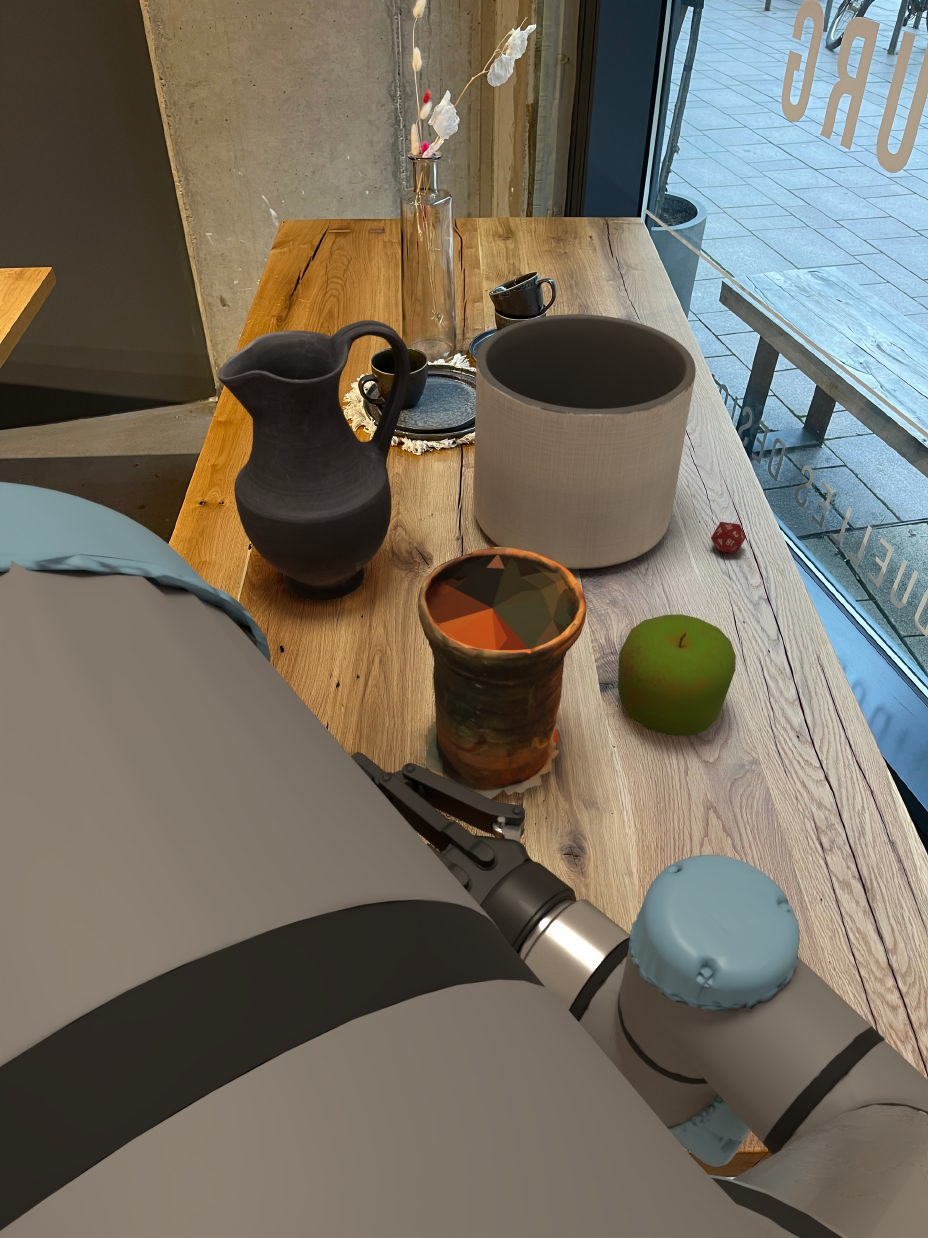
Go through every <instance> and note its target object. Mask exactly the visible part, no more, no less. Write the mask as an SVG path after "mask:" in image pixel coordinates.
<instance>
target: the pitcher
mask: <svg viewBox="0 0 928 1238" xmlns="http://www.w3.org/2000/svg"><path fill="white" fill-rule="evenodd" d="M366 336H374V337H376V338H381V339H384V340H385V341H386V342H387V343H388V345H389V346H390V348H391V351H392V354H393V360H394V371H393V372H394V373H393V379H392V383H391V386H390V390H389V392H388V396H387V398H386V401H385V404H384V407H383V408H382V412H381V414H380V416H379V420H378V422H377V425H376V428H375V430H374V432H373V435H372V437H371V438H370V440H368V441H364V440H363V441H361V440H360V439H359V438H358V437H357V435H356V434H355V431H354V430H353V429H352V427H351V426H350V423H349V421H348V418H347V417H346V415H345V413H344V410H343V408H342V406H341V403H340V395H339V394H340V382H341V377H342V374H343V372H344V370H345V368H346V366H347V363H348V360H349V354H350V351H351V349H352V346H353V344H354V343H355V342H356V340H359V339H361V338H364V337H366ZM410 358H411V357H410V354H409V351H408V347H407V344H406V342H405V341H404V340H403V338H402V337H401V336H400V334H399V333H398V332H397V331H396V329H394V328H393V327H392V326H390V325H389V324H386V323H384V322H382V321H378V320H374V319H372V320H371V319H365V320H358V321H355V322H352V323H350V324H347V325H345V326H342V327H341V328H340V329H338V330H337V331H336V332H335V333H334V334H333V335H328V334H325V333H322V332H316V331H309V330H282V331H275V332H270V333H265V334H262V335H260V336H257V337H256V338H255V339H253V340H251V341H250V342H249V343H248V344H247V345H246V346H244V347H243V348H241V349H240V350H238V351H236V353H234V354H233V355H231V356H230V357H229V358H228V359H227V360H226V361H225V362H224V363H223V364H222V366H221V367H220V368H219V371H218V381H219V382H220V383H221V384H222V385H223V386H224V387H225V388H226V389H227V390H228V391H229V392H230V393H231V395H233V397H234V398H235V399H236V400H237V401H238V402H239V403H240V404H241V406H242V407H243V408H244V410H246V412H247V413H248V414H249V416H250V417H251V419H252V442H251V450H250V454H249V458H248V460H247V462H246V463H245V464H244V465H243V466H242V467H241V469H240V470H239V472H238V473H237V475H236V477H235V479H234V488H233V489H234V490H233V491H234V499H235V504H236V510H237V513H238V516H239V520H240V522H241V526H242V528H243V531H244V533H245V536H247V538H248V540H249V542H250V543H251V545H252V546H253V548H254V549H255V550H256V551H257V553H258V554H259V555H260V556H261V557H262V558H263V559H264V560H265V561H266V562H267V564H269V565H270V566H271V567H272V568H274V569H275V570H277V571H278V572H280V573H282V575H283V576H282V580H283V584H284V586H285V587H286V589H287V590H288V591H289V592H290V593H291V594H292V595H294V596H296V597H297V598H300V599H303V600H306V601H313V602H330V601H335V600H339V599H343V598H344V597H346V596H349V595H351V594H352V593H354V592H355V591H357V590H358V589H359V588H360V587H361V586H362V584H363V582H364V580H365V566H367V565H368V564H369V563H370V562H371V561H372V560H373V558H374V557H375V556H376V555H377V553H378V552H379V550H380V548H381V547H382V546H383V544H384V542H385V539H386V537H387V534H388V531H389V528H390V524H391V519H392V490H391V483H390V478H389V473H388V467H387V466H388V465H387V464H388V463H387V461H388V457H389V453H390V450H391V446H392V441H393V439H394V435H395V432H396V429H397V425H398V422H399V419H400V416H401V413H402V410H403V407H404V403H405V400H406V397H407V393H408V389H409V385H410V378H411V361H410V360H411V359H410Z"/></svg>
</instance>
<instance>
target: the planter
mask: <svg viewBox="0 0 928 1238" xmlns="http://www.w3.org/2000/svg"><path fill="white" fill-rule="evenodd" d="M475 361H476V363H475V365H476V366H475V367H476V368H475V370H476V371H475V416H474V417H475V419H474V449H473V453H474V454H473V483H472V484H473V486H472V494H473V496H472V501H473V510H474V516H475V519H476V521H477V523H478V525H479V526H480V529H481V530H482V531H483V532H484V534H485V535H486V536H487V537H488V539H490V540H491V541H492V542H493V543H495V544H496V545H497V546H498V547H508V548H514V549H520V550H524V551H529V552H534V553H537V554H539V555H541V556H544V557H546V558H548V559H551V560H553V561H555V562H557V563H559V564H560V565H562V566H564V567H565V568H566V569H568V570H593V569H602V568H608V567H612V566H617V565H620V564H624V563H627V562H629V561H632V560H635V559H636V558H638V557H640V556H642V555H644V554H646V553H647V552H649V551H650V550H652V549H653V548H654V547H655V546H656V545H657V544H659V542H660V541H661V540H662V539H663V538H664V536H665V534H666V533H667V531H668V528H669V525H670V523H671V519H672V514H673V511H674V510H673V509H674V504H675V499H676V492H677V488H678V487H677V485H678V480H679V474H680V467H681V461H682V455H683V449H684V443H685V438H686V437H685V436H686V432H687V431H686V430H687V426H688V419H689V415H690V408H691V402H692V397H693V391H694V385H695V379H696V371H697V370H696V368H697V367H696V362H695V360H694V357H693V356H692V354H691V353H690V351H689V350H688V349H687V348H686V347H685V346H684V345H683V344H682V343H680V342H679V341H678V340H676V339H675V338H673V337H672V336H671V335H669V334H667V333H665V332H663V331H661V330H659V329H657V328H654V327H652V326H649V325H646V324H644V323H640V322H637V321H633V320H628V319H625V318H619V317H613V316H607V315H599V314H583V313H582V314H580V313H578V314H577V313H570V314H569V313H568V314H553V315H544V316H540V317H533V318H529V319H525V320H522V321H519V322H515V323H512V324H510V325H507V326H505V327H503V328H501V329H499V330H497V331H496V332H494V333H493V334H492V335H490V336H489V337H488V338H487V339H485V340H484V341H483V343H482V344H481V345H480V347H479V349H478V351H477V354H476V360H475Z"/></svg>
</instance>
